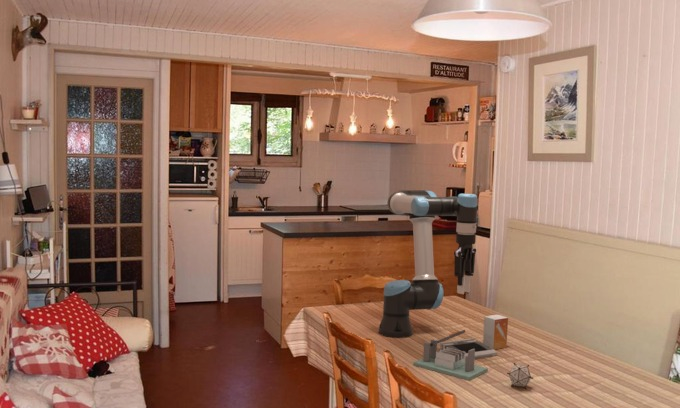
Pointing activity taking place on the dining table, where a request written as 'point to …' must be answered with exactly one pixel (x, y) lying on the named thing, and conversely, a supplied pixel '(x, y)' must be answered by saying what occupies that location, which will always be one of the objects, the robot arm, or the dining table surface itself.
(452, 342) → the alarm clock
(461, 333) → the dark grey bar
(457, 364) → the heatsink
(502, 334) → the small box
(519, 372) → the game die
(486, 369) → the base board
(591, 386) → the dining table surface
